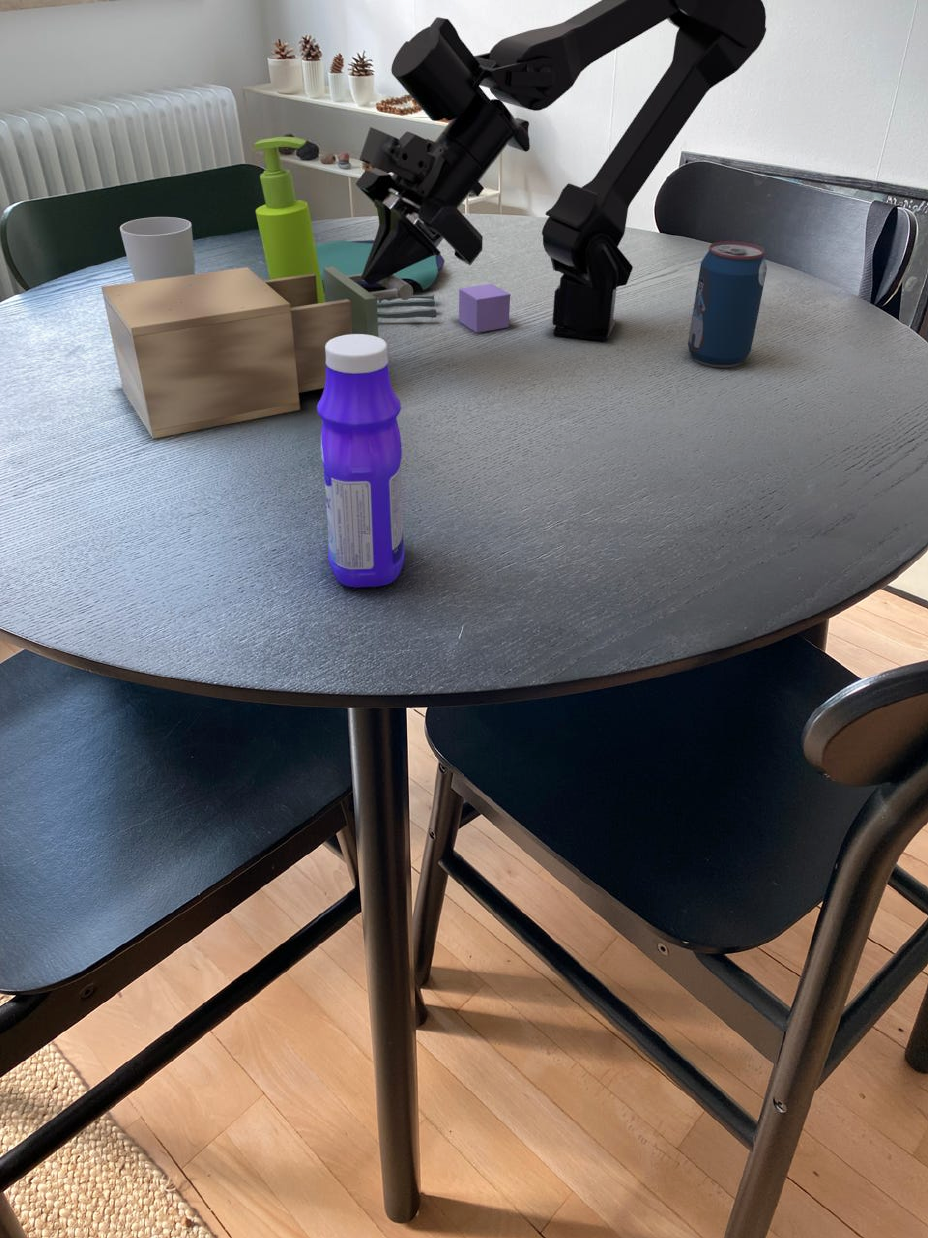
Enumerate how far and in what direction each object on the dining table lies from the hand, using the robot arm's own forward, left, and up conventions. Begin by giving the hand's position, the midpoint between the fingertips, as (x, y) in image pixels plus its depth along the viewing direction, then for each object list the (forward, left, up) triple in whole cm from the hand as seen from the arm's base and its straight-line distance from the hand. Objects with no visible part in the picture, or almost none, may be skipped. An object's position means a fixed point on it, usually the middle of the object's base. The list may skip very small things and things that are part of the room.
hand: (365, 281), depth 97 cm
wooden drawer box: (+12, +12, -9) cm, 20 cm away
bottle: (-14, +36, -10) cm, 40 cm away
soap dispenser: (+12, -11, -9) cm, 19 cm away
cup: (+30, -10, -10) cm, 33 cm away
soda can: (-36, -16, -10) cm, 40 cm away
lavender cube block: (-8, -18, -9) cm, 22 cm away
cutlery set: (+10, -27, -10) cm, 30 cm away
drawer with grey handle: (+4, +4, -9) cm, 10 cm away
